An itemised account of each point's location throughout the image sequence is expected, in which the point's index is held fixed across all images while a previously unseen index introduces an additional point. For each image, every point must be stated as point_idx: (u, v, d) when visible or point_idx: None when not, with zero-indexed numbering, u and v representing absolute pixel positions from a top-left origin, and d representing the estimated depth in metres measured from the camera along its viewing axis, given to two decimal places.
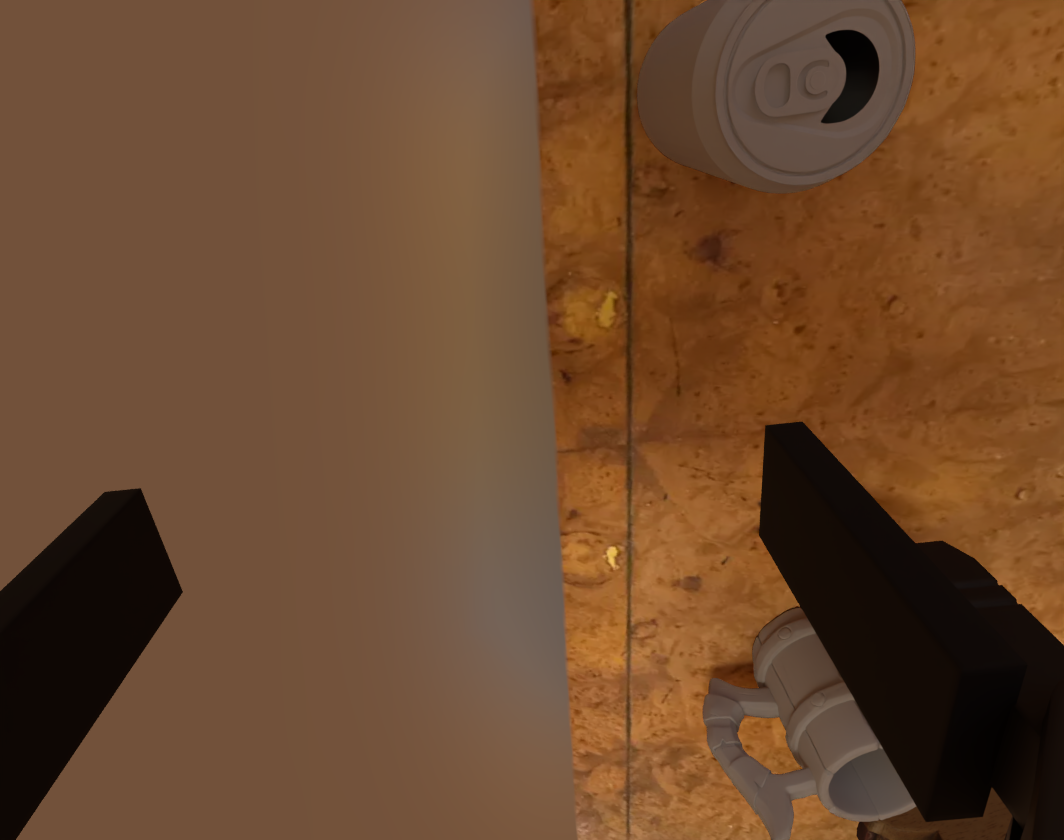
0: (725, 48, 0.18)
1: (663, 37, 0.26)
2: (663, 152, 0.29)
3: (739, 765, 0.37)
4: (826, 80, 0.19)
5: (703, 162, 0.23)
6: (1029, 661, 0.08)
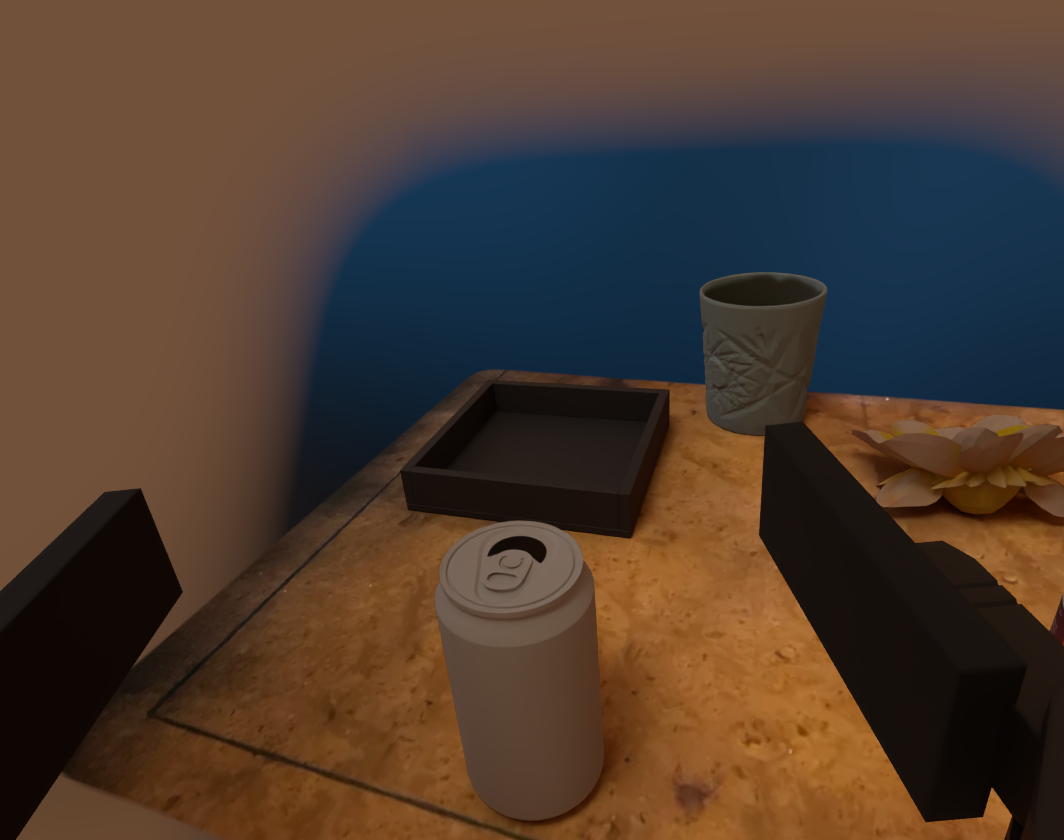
0: (459, 602, 0.24)
1: (467, 756, 0.29)
2: (567, 798, 0.28)
3: None
4: (515, 558, 0.26)
5: (551, 675, 0.25)
6: (1029, 661, 0.08)
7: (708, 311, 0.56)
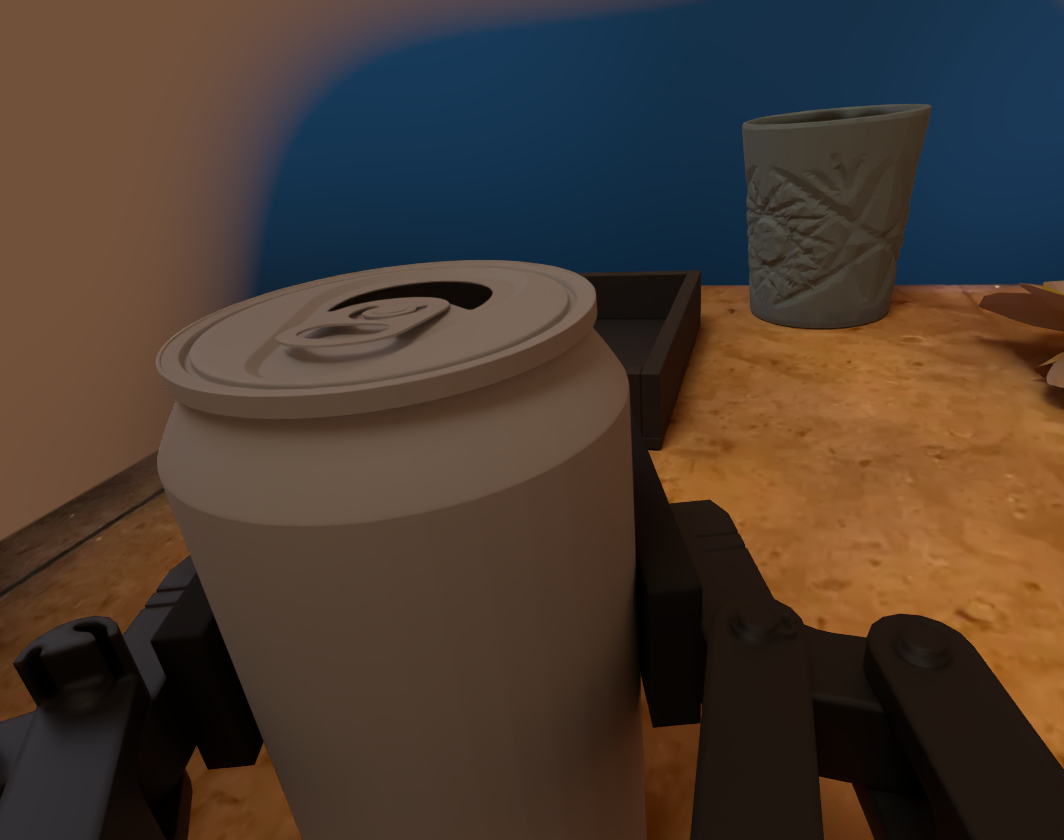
0: (181, 382, 0.07)
1: None
2: None
3: None
4: (402, 310, 0.09)
5: (501, 631, 0.08)
6: (729, 589, 0.10)
7: (758, 145, 0.39)
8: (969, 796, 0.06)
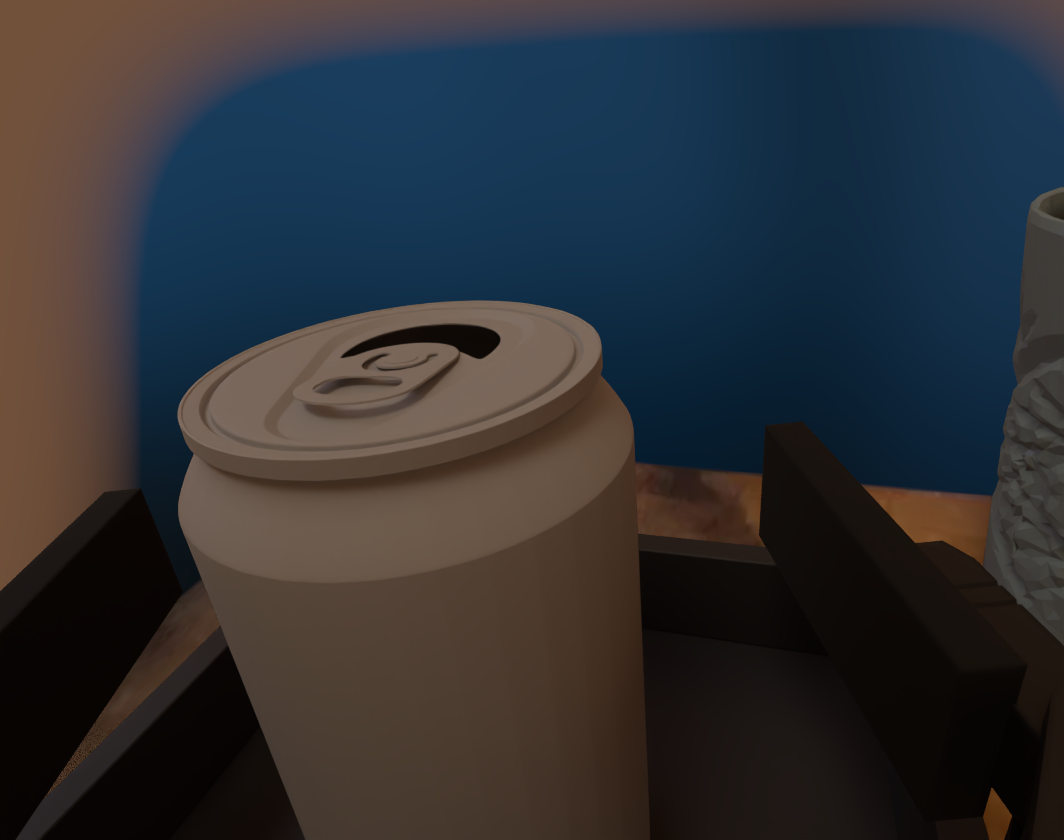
0: (205, 441, 0.07)
1: None
2: None
3: None
4: (414, 357, 0.10)
5: (511, 677, 0.08)
6: (1029, 659, 0.08)
7: None
8: None
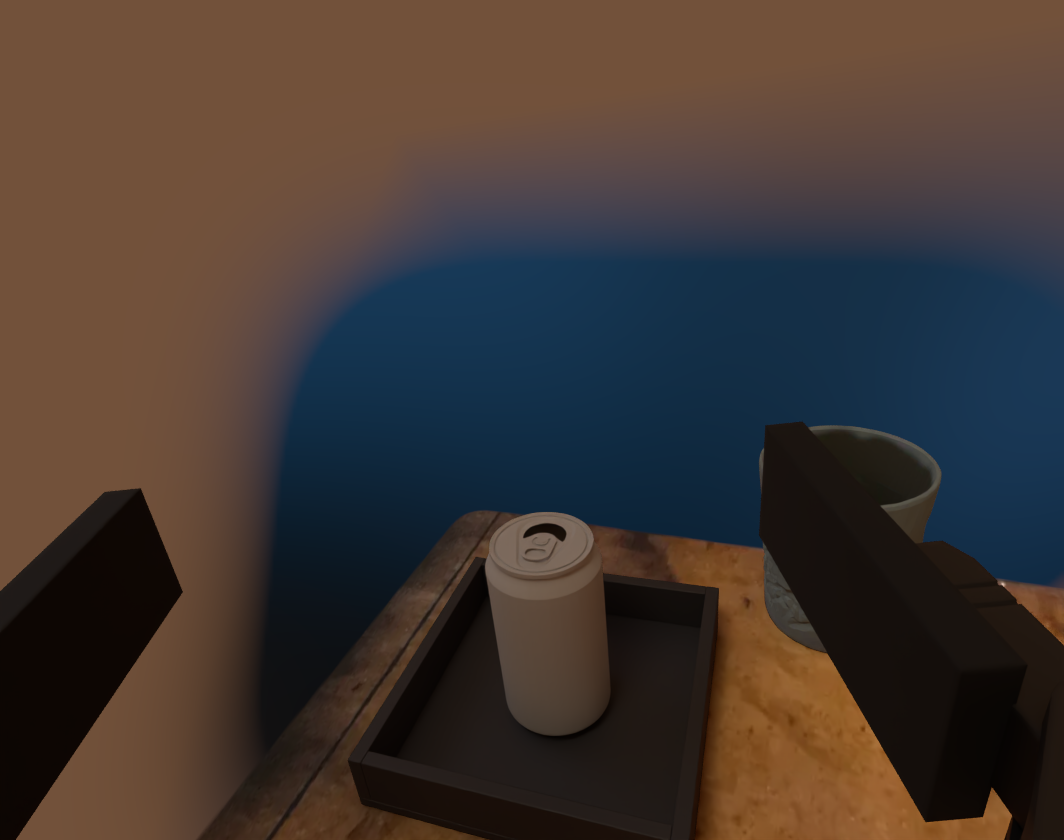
0: (506, 569, 0.34)
1: (509, 689, 0.38)
2: (584, 718, 0.38)
3: None
4: (543, 539, 0.36)
5: (572, 621, 0.34)
6: (1029, 659, 0.08)
7: None
8: None
